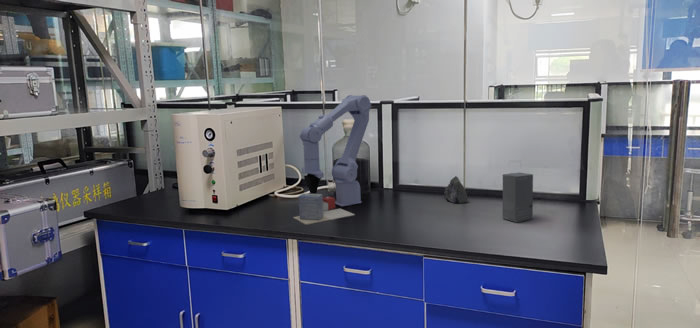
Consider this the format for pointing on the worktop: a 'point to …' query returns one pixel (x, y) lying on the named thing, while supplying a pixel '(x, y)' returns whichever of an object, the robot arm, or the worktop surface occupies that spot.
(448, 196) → the mineral rock
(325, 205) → the button box
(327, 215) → the cream flat sheet
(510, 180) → the skincare box
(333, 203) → the die
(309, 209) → the medicine box
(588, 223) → the worktop surface
